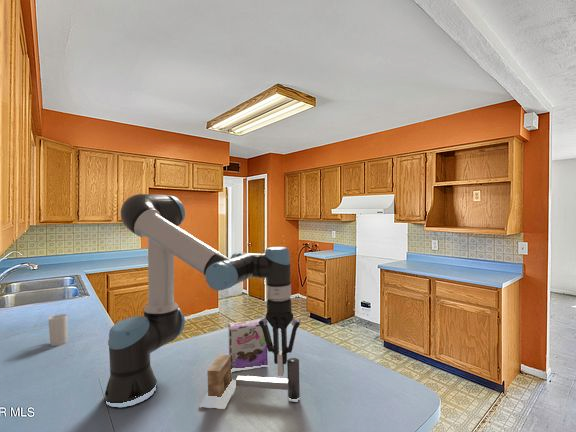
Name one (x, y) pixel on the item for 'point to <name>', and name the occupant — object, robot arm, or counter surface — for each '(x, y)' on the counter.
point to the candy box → (247, 344)
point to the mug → (58, 329)
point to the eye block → (219, 375)
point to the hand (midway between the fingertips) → (281, 373)
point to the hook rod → (276, 380)
